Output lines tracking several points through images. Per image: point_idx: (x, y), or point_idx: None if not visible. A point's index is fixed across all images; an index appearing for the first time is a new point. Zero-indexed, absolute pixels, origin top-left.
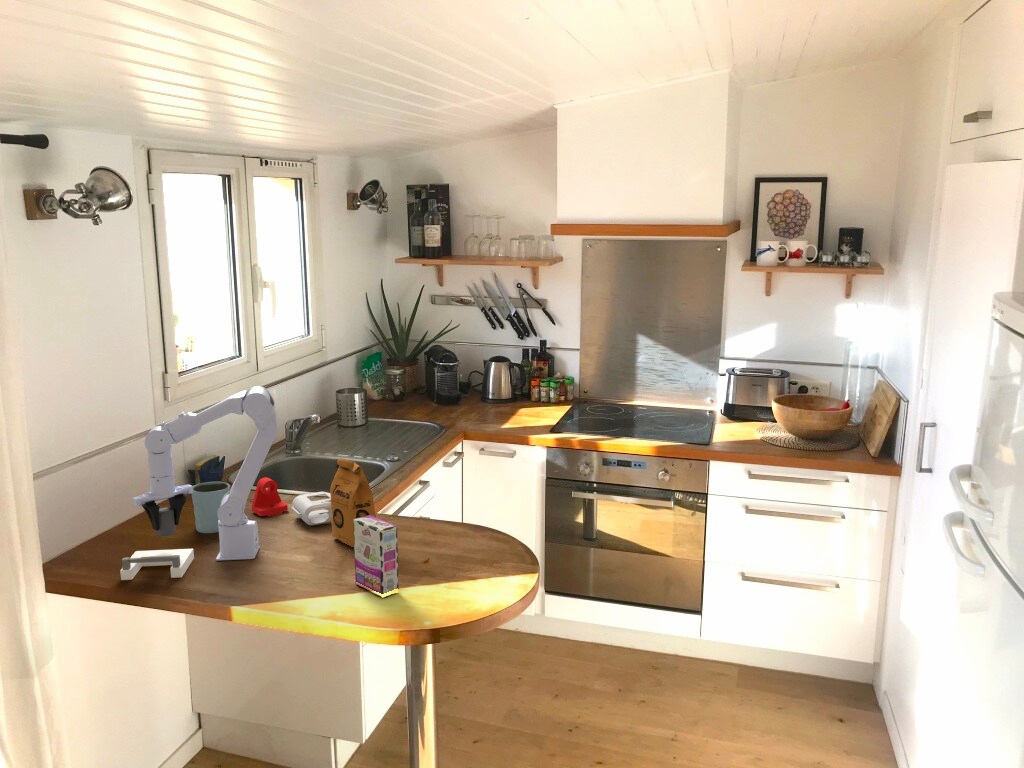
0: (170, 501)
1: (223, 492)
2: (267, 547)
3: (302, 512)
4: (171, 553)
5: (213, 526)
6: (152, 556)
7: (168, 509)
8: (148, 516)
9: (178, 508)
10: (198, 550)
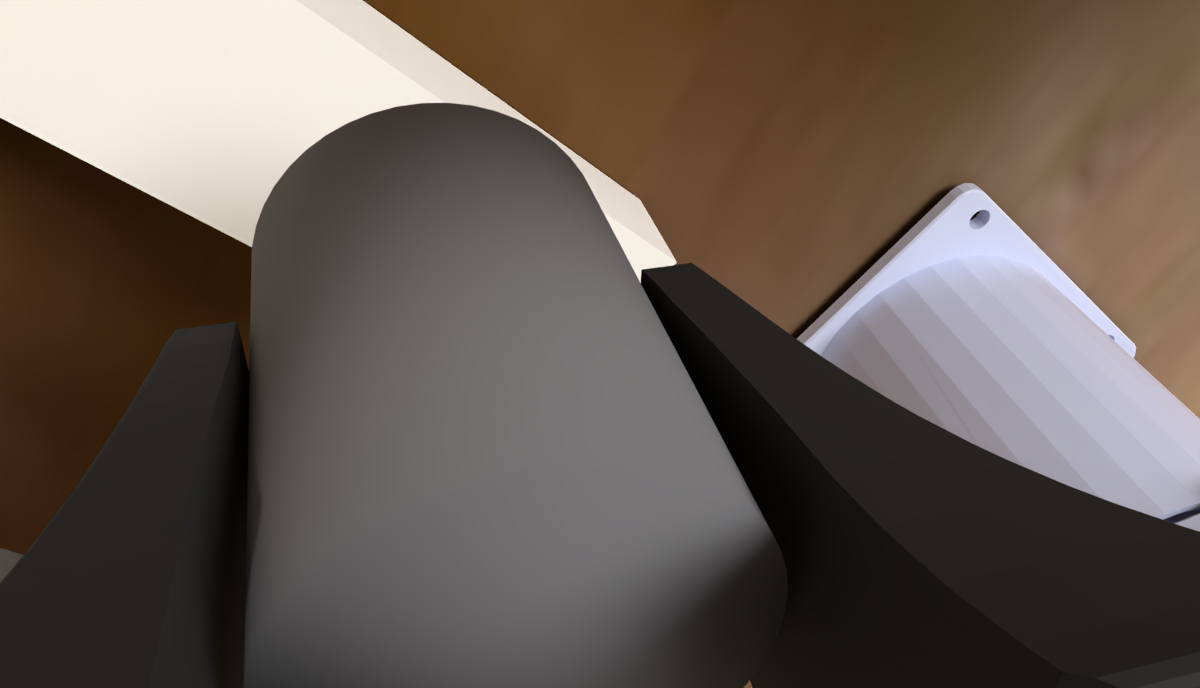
0: (916, 678)
1: None
2: (1157, 364)
3: None
4: None
5: None
6: (130, 182)
7: (656, 649)
8: (31, 548)
9: None
10: (807, 8)
